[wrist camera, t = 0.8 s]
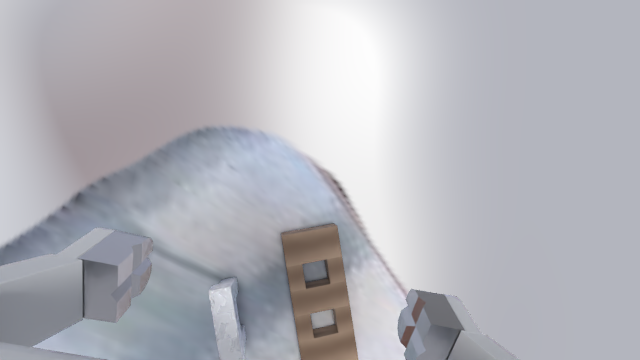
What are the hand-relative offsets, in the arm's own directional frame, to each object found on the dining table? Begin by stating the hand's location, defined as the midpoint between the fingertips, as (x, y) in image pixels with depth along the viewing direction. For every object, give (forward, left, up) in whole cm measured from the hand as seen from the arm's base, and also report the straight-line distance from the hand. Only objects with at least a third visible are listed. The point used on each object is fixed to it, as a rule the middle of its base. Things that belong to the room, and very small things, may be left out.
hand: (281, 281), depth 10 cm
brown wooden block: (-16, -4, -43) cm, 46 cm away
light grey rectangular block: (-16, +10, -43) cm, 47 cm away
